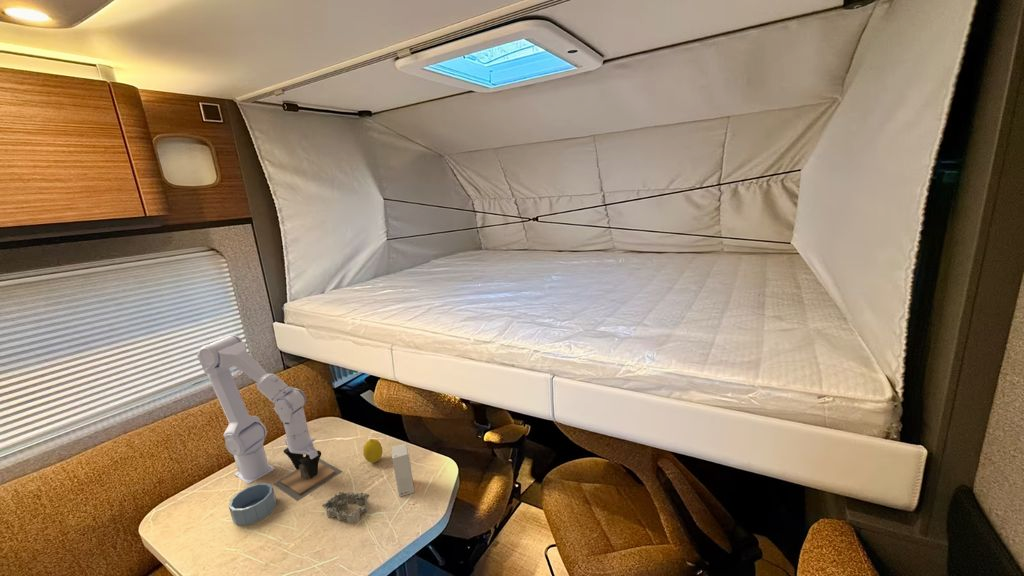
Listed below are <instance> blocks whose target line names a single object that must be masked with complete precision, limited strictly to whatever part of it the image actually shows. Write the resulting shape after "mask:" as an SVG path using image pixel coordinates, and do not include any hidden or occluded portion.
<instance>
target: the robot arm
mask: <svg viewBox="0 0 1024 576" xmlns="http://www.w3.org/2000/svg"><path fill="white" fill-rule="evenodd" d="M247 349H248V348H247V344H246V342H244V341H243V340H242V338H240V337H239V336H238V335H236V334H230V335H228V336H227V337H224V338H220V339H218V340H217V341H214V342H211V343H209V344H205V345H203V346H201V347H200V348H199V350H198V353H197V354H196V355H197V356H196V357H197V358H198V361H199V363H200V365H201V367H202V370H203V372H204V373H205V374H206V375H207V377H208V379H209V382H210V383H211V384H210V385H211V386H212V389H213V391H214V392H215V393H214V394H215V395H216V397H217V399H218V401H219V403H220V406H221V408H222V411H223V412H224V415H225V417H226V419H227V421H228V422H227V423H228V425H227V427H226V429H225V431H224V433H223V438H224V440H225V448H226V450H227V452H229V453H230V454H231V455H233V458H234V461H235V465H236V469H237V471H236V472H235V473H234V475H235V477H237V478H239V479H240V480H241V481H243V482H244V483H245V484H247V485H250V484H252V483H254V482H255V481H257V480H258V479H260V478H262V477H264V476H266V475H267V474H269V473H272V472H273V471H274V470H275V469H276V468H275V467H274V466H273V465H271V464H269V462H268V458H267V454H266V449H265V445H264V443H265V438H266V436H267V433H268V432H267V428H266V426H265V424H263V423H262V421H261V419H260V417H259V416H257V415H250V414H249V411H248V409H247V407H246V405H245V402H244V400H243V398H242V395H241V393H240V391H239V388H238V385H237V384H236V381H235V379H234V377H233V375H232V372H231V370H230V368H231V367H235V368H237V369H238V370H239V371H241V372H242V373H243V374H245V375H246V376H248V377H249V378H250V379H251V380H253V381H254V382H255V383H256V390H257V391H259V392H260V393H261V394H262V395H263V396H265V398H267V399H268V400H269V401H270V402H271V403H273V404H274V407H273V410H274V411H275V413H276V414H277V415H278V417H279V420H280V421H281V422H282V423H283V428H284V430H285V435H286V436H285V437H286V438H285V439H284V442H285V446H287V448H285V449H284V450H283V453H284V454H285V455H286V456H287V457H288V459H289V460H290V461H291V463H292V464H293V466H294V468H295V470H298V469H300V468H299V465H300V464H303V465H304V467H305V469H306V471H307V473H308V475H309V477H310V478H313V477H314V476H316V475H317V474H318V463H319V459H321V456H322V451H320V450H318V449H317V448H315V446H314V444H313V443H314V442H315V437H313V436H310V431H309V427H308V423H307V419H306V414H305V409H304V405H305V404H306V402H307V397H306V395H305V393H304V391H302V389H300V388H296V387H293V386H289V385H288V384H287V383H286V382H285V381H284V380H282V379H281V378H280V377H279V376H278V375H277V374H275V373H267V372H266V370H265V369H264V368H263V367H262V366H261V365H260V364H259V363H258V362H257V361H256V360H255V358H253V357H252V356H251V354H250V353H249V352H248V351H247ZM304 455H305V456H304Z"/></svg>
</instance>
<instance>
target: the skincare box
mask: <svg viewBox="0 0 1024 576" xmlns="http://www.w3.org/2000/svg"><path fill="white" fill-rule="evenodd" d="M391 456H392V457H391V458H392V465H393V471H394V477H395V482H396V489H397V493H398V497H403V496H407V495H410V494H414V493H415V488H414V478H413V473H412V466H411V460H410V455H409V448H408V443H402V444H401V443H400V444H397V445H393V446H391Z"/></svg>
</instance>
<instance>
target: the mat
mask: <svg viewBox="0 0 1024 576" xmlns="http://www.w3.org/2000/svg"><path fill="white" fill-rule="evenodd" d="M319 462H320V463H322V464H324V465H325V466H327V467H329V468H331V469H332V470H334V471H335V473H334V474H332V475H331V476H329V477H328V478H326V479H325V480H323V481H322V482H320V483H319V484H317V485H316V486H314V487H312V488H311V489H309V490H308V491H306V492H305V493H303V494H302V495H298V494H297V493H295V492H294V491H292V490H291V489H289V488H288V487H286V486H285V485H283V484H282V483H281V482H280V481H281V480H283V479H284V478H286V477H288V476H289V475H291V474H293V473H294V472H296V471H298V470H299V469H298V470H297V469H295V470H294V471H293V472H291V473H289V474H288V475H286V476H285V477H282V478H281V479H279V480H277V481H276V482H273V485H274V486H275V487H276V488H278V489H279V490H281V491H282V492H284V493H285V494H286V495H288V496H289V497H291V498H292V499H293V500H295V501H297V502H298V501H300V500H301V499H303V498H304V497H306V496H307V495H309V494H311V493H313V491H315V490H317V489H318V488H319V487H321V486H322V485H324V484H326V483H328V482H329V481H330V480H332V479H333V478H335V477H336V476H338V475H340V474H341V473H343V470H341V469H339V468H337V467H335V466H334V465H332V464H330V463H329V462H326V460H325V461H324V460H323V459H321V458H320V459H319Z"/></svg>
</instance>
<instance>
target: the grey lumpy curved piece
mask: <svg viewBox="0 0 1024 576" xmlns="http://www.w3.org/2000/svg"><path fill="white" fill-rule="evenodd" d="M369 498H370V495H369V494H368V493H365V492H361V493H359V492H356V493H354V492H352V491H351V492H344V491H341V490H340V491H339V492H338V493H337V494H334V496H333V497H331V498H330V499H329V500H326V501H327V502H325V503H323V504H322V505H321V506H322V508H323V509H325V512H326V516H327V518H328V519H331V518H333V517H336V520H337V521H339V522H341V521H343V520H346V521H347V524H350V525H351V524H353V523H354V522H358V521H360V520H361V514H362V513H366V512H369V510H370V507H369V501H368V500H369ZM354 503H356V504H357V506H358V508H354V509H351V510H350V511H349V512H347V511H348V510H349V507H348V504H349V505H353V504H354Z"/></svg>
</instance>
